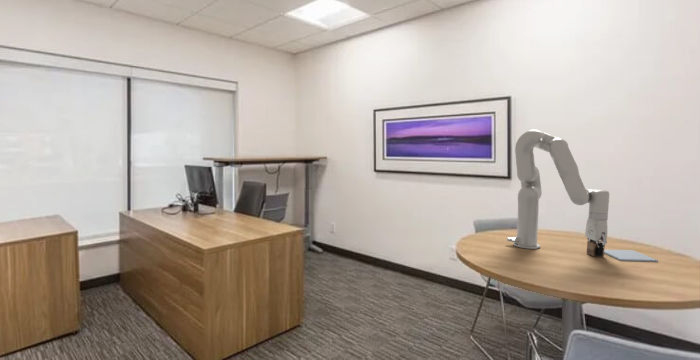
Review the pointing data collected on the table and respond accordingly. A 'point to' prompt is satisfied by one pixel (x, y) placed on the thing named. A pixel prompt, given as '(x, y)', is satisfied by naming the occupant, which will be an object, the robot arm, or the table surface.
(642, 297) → the table surface
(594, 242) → the walnut block
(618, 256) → the slate board
